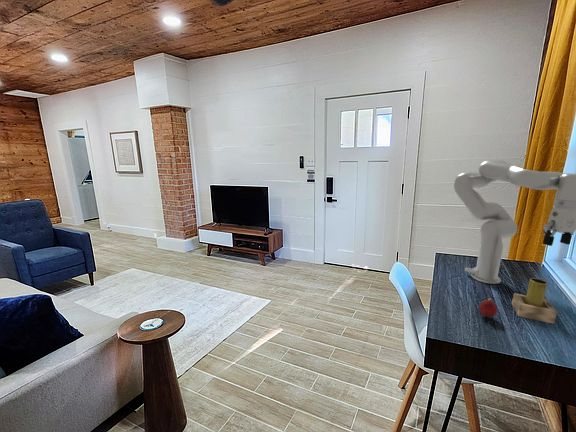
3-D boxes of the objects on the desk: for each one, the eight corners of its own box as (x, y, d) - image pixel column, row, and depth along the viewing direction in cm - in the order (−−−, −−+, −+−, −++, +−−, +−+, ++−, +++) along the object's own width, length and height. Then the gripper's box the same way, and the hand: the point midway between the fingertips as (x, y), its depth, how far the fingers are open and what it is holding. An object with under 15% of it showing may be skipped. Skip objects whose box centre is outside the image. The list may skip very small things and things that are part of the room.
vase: (527, 307, 117) (534, 276, 114) (544, 315, 112) (552, 283, 109) (518, 310, 115) (525, 278, 112) (535, 318, 110) (543, 285, 106)
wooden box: (518, 315, 111) (520, 303, 110) (511, 303, 121) (514, 292, 119) (554, 323, 106) (557, 311, 105) (544, 310, 116) (547, 298, 114)
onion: (496, 323, 106) (499, 304, 104) (478, 318, 109) (481, 299, 107) (494, 315, 111) (498, 297, 109) (477, 311, 114) (480, 293, 112)
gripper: (561, 206, 106) (550, 248, 110) (593, 205, 110) (582, 245, 114) (540, 203, 114) (530, 242, 117) (571, 202, 117) (560, 240, 121)
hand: (556, 244), depth 116 cm, fingers open, 9 cm apart
